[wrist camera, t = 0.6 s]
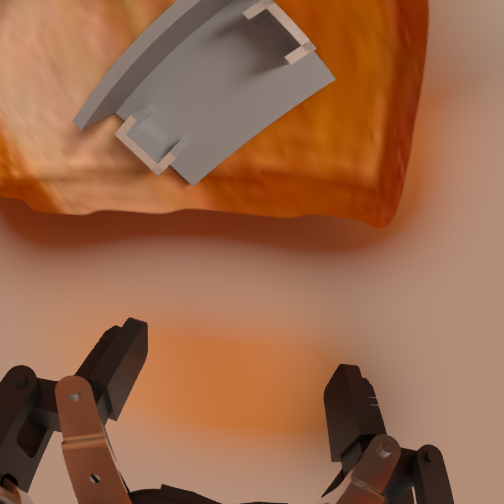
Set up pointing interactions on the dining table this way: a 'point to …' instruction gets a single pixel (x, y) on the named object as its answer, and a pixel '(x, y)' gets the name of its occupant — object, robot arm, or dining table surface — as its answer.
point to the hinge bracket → (206, 82)
